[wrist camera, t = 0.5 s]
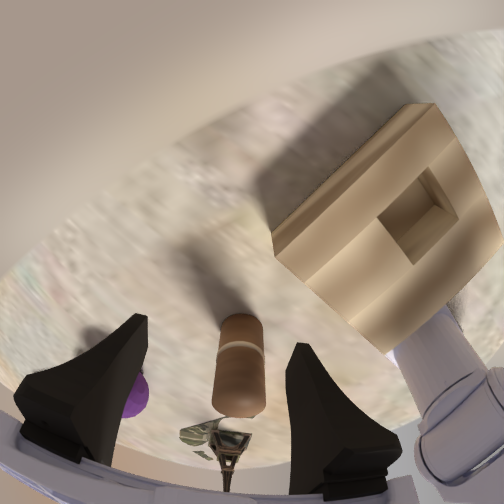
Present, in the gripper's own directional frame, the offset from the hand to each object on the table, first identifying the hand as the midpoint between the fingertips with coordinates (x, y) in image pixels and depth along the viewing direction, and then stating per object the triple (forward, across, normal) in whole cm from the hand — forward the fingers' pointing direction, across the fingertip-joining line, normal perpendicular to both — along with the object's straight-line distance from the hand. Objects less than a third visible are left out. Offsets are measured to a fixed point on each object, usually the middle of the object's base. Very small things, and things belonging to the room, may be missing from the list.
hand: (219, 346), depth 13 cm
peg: (+10, -2, +7) cm, 12 cm away
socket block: (+10, -12, -5) cm, 16 cm away
